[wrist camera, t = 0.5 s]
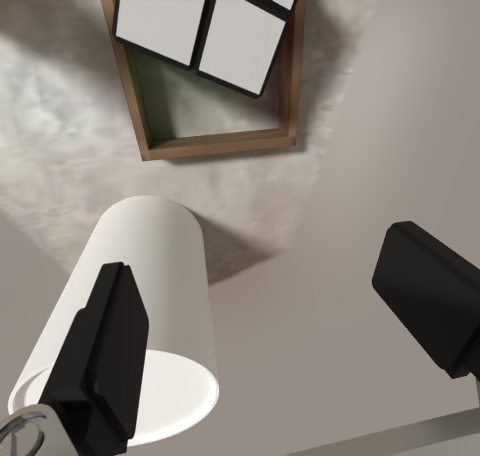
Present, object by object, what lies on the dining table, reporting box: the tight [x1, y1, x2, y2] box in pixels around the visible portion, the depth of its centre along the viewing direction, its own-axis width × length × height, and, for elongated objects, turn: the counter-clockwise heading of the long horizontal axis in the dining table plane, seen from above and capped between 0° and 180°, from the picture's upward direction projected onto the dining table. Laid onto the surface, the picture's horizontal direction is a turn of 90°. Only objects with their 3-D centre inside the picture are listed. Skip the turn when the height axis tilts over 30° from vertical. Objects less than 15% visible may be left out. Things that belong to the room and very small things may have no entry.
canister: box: [8, 196, 219, 447], centre depth 27 cm, size 14×14×20 cm
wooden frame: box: [101, 0, 306, 161], centre depth 23 cm, size 19×16×4 cm
